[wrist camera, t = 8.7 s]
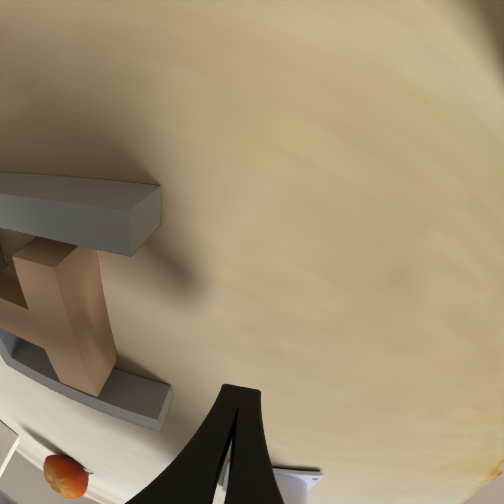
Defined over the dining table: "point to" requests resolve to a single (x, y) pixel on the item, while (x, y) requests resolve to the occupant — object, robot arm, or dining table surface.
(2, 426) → the milk carton
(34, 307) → the t block
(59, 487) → the fruit
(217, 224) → the dining table surface
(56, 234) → the dock
